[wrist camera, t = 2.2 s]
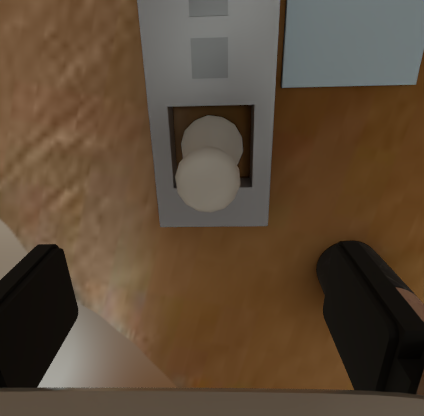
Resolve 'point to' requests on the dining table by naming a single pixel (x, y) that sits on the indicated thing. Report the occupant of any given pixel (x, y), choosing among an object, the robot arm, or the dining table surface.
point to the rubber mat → (352, 42)
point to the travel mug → (405, 291)
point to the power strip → (210, 92)
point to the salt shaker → (209, 164)
